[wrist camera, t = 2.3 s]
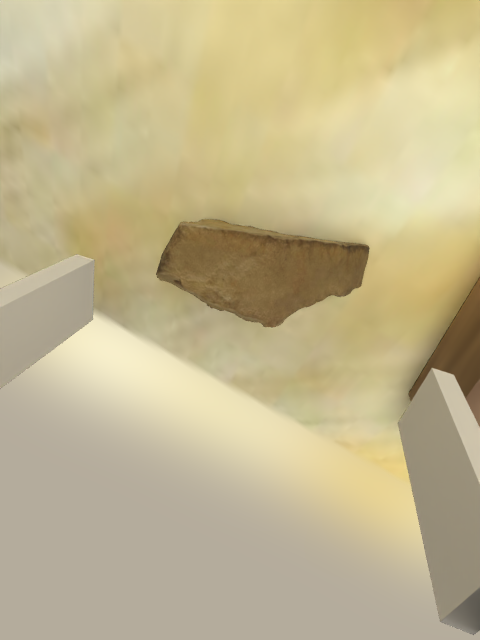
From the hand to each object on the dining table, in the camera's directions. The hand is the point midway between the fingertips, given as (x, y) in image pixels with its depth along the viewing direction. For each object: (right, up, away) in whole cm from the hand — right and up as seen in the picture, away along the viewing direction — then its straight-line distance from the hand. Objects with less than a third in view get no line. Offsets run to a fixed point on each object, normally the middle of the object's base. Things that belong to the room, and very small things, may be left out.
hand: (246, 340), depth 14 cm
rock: (+2, +4, +8) cm, 9 cm away
